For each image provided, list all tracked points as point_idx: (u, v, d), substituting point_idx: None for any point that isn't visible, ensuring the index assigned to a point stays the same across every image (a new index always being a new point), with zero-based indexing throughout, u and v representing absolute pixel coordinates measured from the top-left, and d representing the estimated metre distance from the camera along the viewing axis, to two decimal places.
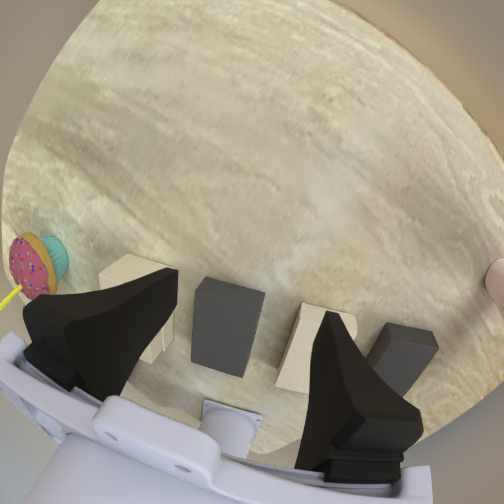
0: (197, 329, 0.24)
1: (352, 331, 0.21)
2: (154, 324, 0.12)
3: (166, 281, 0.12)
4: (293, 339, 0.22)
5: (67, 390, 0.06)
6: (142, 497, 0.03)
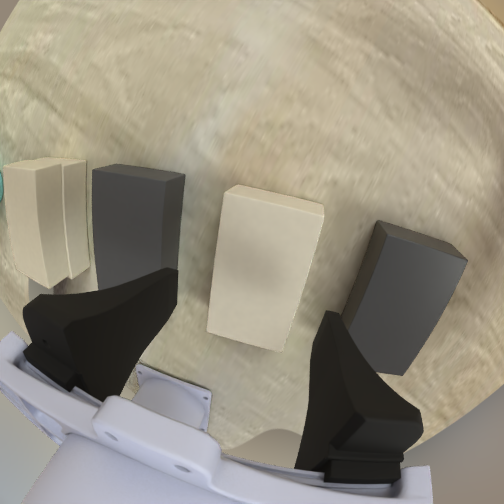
0: (97, 233, 0.16)
1: (315, 214, 0.13)
2: (154, 324, 0.12)
3: (166, 281, 0.12)
4: (219, 234, 0.14)
5: (67, 390, 0.06)
6: (142, 497, 0.03)
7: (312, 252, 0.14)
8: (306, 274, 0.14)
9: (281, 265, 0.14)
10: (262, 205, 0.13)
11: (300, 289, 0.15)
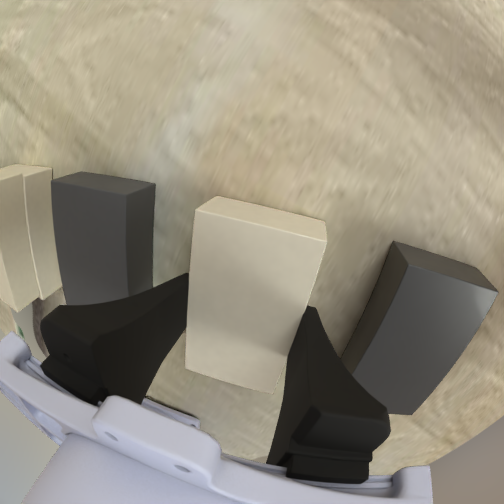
0: (61, 253, 0.13)
1: (315, 238, 0.10)
2: (174, 332, 0.11)
3: (187, 288, 0.12)
4: (191, 261, 0.11)
5: None
6: (143, 497, 0.03)
7: (310, 287, 0.11)
8: (302, 313, 0.11)
9: (270, 302, 0.11)
10: (243, 226, 0.10)
11: (294, 329, 0.11)
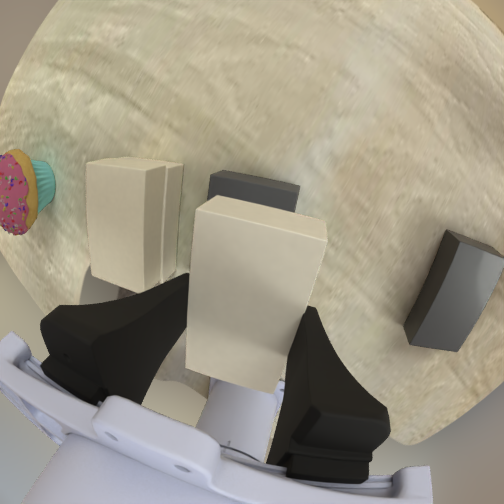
0: None
1: (315, 238, 0.10)
2: (174, 331, 0.11)
3: (187, 288, 0.12)
4: (192, 261, 0.11)
5: None
6: (143, 497, 0.03)
7: (310, 286, 0.10)
8: (302, 312, 0.11)
9: (271, 301, 0.11)
10: (244, 225, 0.10)
11: (295, 329, 0.11)
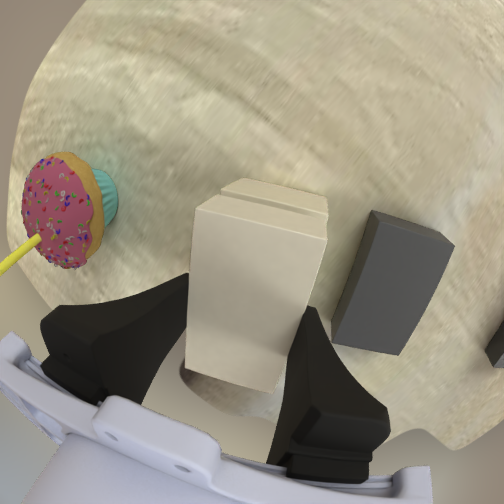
0: (363, 286, 0.16)
1: (315, 237, 0.10)
2: (174, 331, 0.11)
3: (187, 288, 0.12)
4: (191, 260, 0.11)
5: None
6: (142, 497, 0.03)
7: (310, 285, 0.10)
8: (302, 311, 0.11)
9: (270, 300, 0.11)
10: (244, 224, 0.10)
11: (294, 328, 0.11)
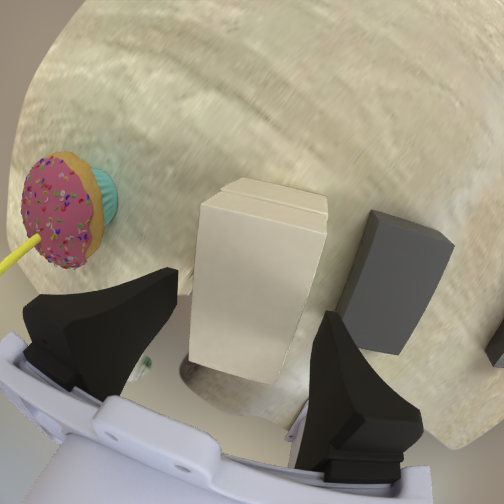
0: (363, 286, 0.16)
1: (315, 231, 0.10)
2: (154, 324, 0.12)
3: (166, 281, 0.12)
4: (196, 254, 0.12)
5: (67, 390, 0.06)
6: (143, 497, 0.03)
7: (311, 278, 0.11)
8: (303, 303, 0.12)
9: (272, 293, 0.12)
10: (247, 219, 0.11)
11: (295, 320, 0.12)
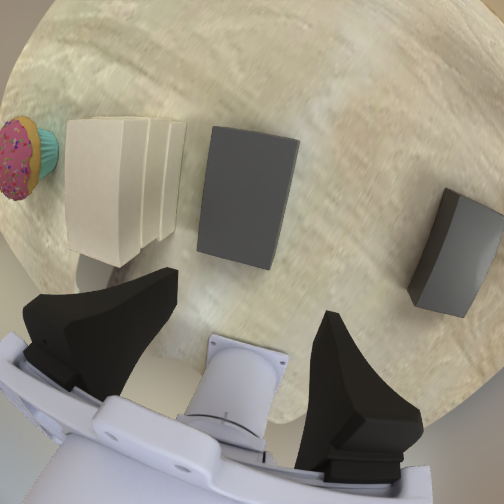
0: (210, 188, 0.18)
1: (118, 120, 0.12)
2: (154, 324, 0.12)
3: (167, 281, 0.12)
4: (65, 154, 0.14)
5: (67, 390, 0.06)
6: (142, 497, 0.03)
7: (118, 154, 0.13)
8: (117, 176, 0.14)
9: (100, 171, 0.14)
10: (86, 123, 0.13)
11: (116, 193, 0.14)
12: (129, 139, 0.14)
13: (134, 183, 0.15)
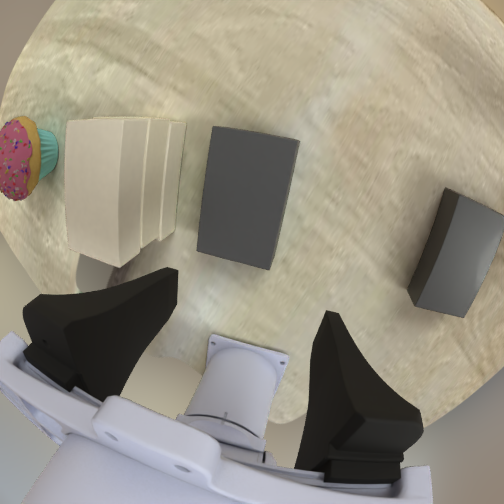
0: (210, 188, 0.18)
1: (117, 120, 0.12)
2: (154, 324, 0.12)
3: (166, 281, 0.12)
4: (65, 154, 0.14)
5: (67, 390, 0.06)
6: (142, 497, 0.03)
7: (118, 154, 0.13)
8: (117, 176, 0.14)
9: (100, 171, 0.14)
10: (85, 123, 0.13)
11: (116, 193, 0.14)
12: (129, 139, 0.14)
13: (134, 183, 0.15)
